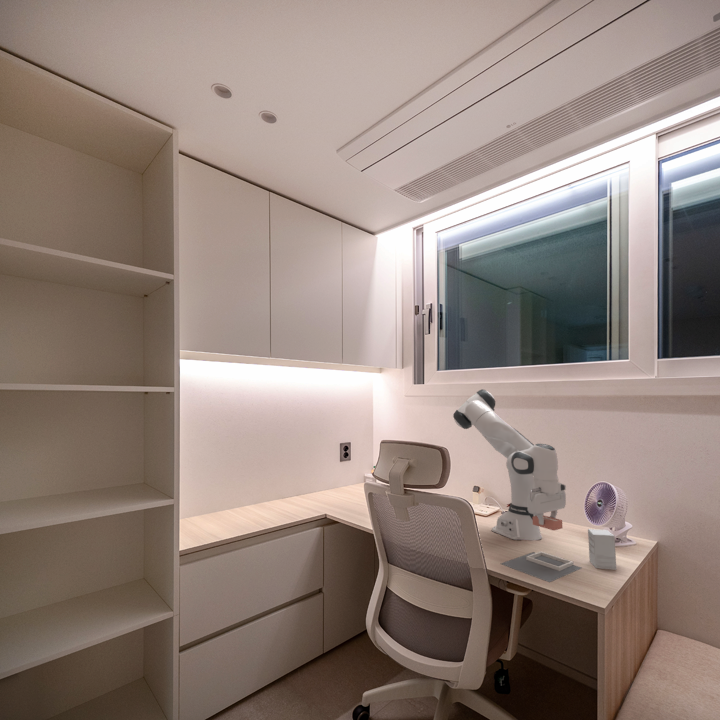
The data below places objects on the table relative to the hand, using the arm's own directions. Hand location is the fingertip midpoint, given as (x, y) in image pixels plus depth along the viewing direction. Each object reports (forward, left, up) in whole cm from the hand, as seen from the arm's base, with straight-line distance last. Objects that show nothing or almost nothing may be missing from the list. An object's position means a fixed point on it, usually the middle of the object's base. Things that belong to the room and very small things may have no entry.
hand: (547, 522), depth 163 cm
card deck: (0, 0, -1) cm, 1 cm away
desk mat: (0, -6, -15) cm, 16 cm away
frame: (0, 0, -15) cm, 15 cm away
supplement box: (+13, +14, -15) cm, 25 cm away
